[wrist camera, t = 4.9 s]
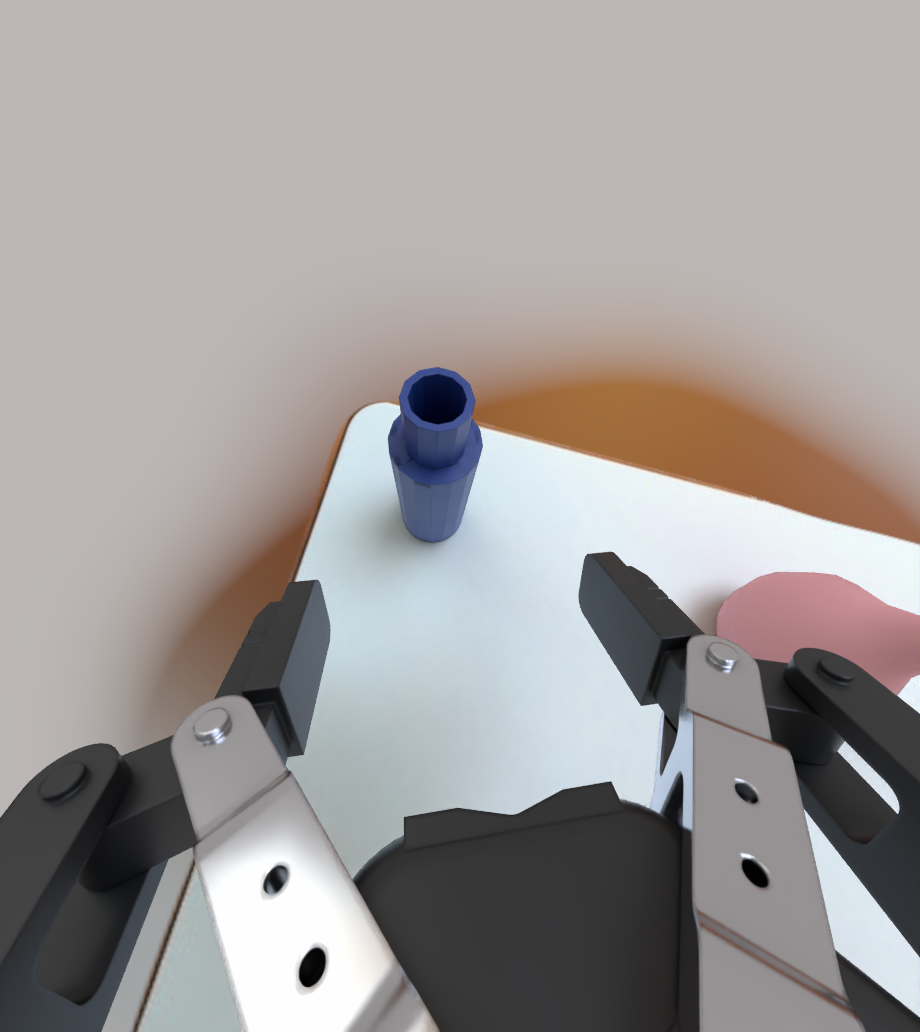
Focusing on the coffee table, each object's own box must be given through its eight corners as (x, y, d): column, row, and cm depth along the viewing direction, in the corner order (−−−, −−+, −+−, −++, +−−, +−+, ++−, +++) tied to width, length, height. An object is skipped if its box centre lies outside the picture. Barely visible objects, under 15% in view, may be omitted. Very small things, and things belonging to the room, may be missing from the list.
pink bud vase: (719, 558, 26) (946, 498, 15) (819, 624, 25) (1142, 615, 14) (674, 654, 24) (902, 671, 12) (782, 730, 23) (1135, 824, 11)
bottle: (395, 533, 25) (363, 431, 12) (412, 480, 26) (399, 339, 14) (453, 549, 25) (479, 462, 12) (467, 495, 26) (504, 368, 14)
